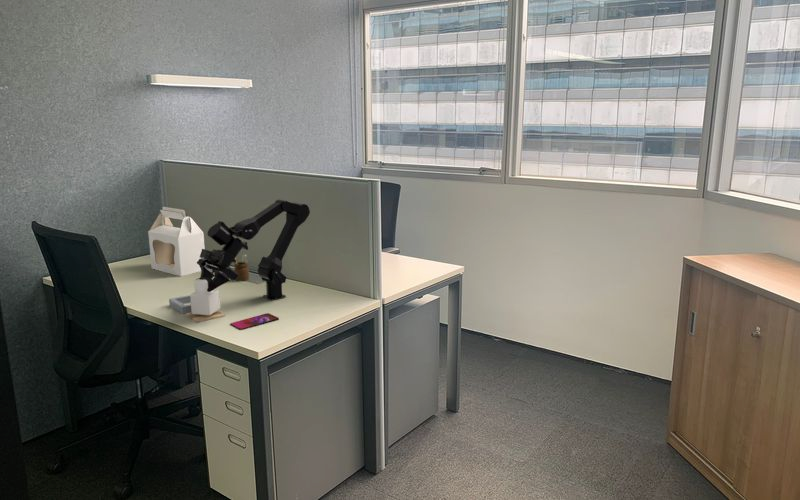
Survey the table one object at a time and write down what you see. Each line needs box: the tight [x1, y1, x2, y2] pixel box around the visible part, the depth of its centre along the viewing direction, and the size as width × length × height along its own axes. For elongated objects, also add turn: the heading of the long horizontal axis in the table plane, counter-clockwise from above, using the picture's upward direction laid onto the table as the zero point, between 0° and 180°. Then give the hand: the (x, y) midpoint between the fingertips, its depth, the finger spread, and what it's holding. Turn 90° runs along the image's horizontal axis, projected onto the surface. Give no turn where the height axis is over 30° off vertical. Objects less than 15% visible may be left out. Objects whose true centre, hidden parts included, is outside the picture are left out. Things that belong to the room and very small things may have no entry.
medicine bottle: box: [189, 277, 221, 315], centre depth 207 cm, size 7×7×12 cm
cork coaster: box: [185, 310, 226, 323], centre depth 208 cm, size 10×10×1 cm
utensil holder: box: [233, 254, 250, 282], centre depth 252 cm, size 6×6×12 cm
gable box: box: [147, 206, 206, 277], centre depth 265 cm, size 22×13×28 cm, turn 55°
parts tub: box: [168, 294, 192, 315], centre depth 218 cm, size 13×13×2 cm
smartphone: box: [230, 312, 280, 331], centre depth 202 cm, size 8×1×15 cm
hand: (203, 289), depth 206 cm, fingers closed on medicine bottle, 6 cm apart
